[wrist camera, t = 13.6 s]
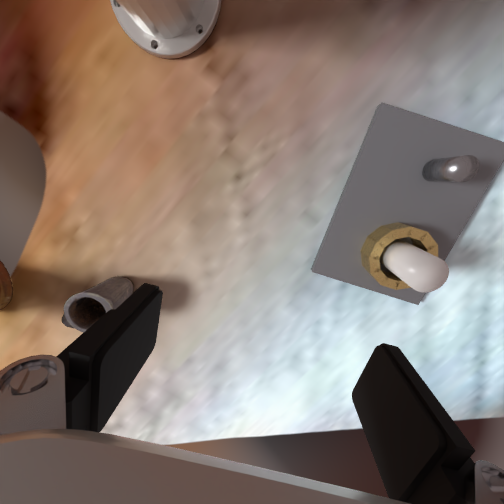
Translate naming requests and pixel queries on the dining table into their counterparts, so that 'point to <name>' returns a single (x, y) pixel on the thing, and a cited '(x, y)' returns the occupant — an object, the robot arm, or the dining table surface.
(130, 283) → the grey mug
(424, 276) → the white rounded peg
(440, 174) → the small stub
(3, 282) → the lantern
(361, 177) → the fitting board
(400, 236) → the brass socket
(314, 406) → the dining table surface
